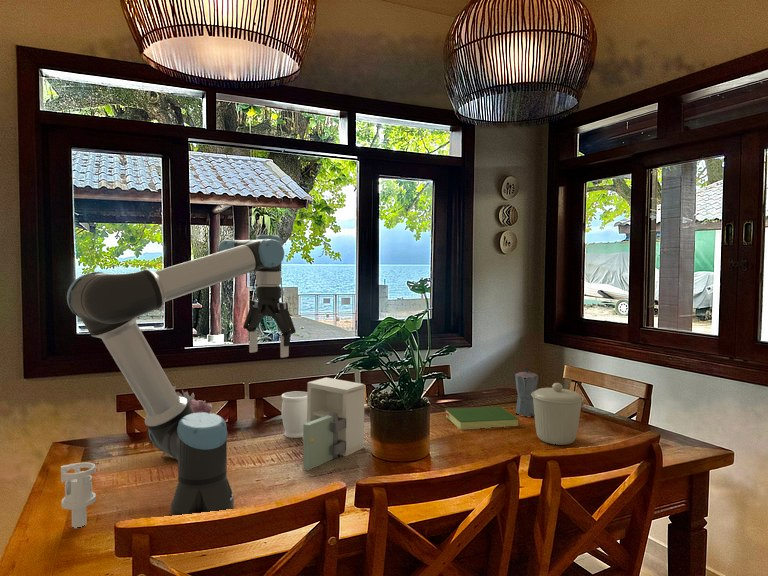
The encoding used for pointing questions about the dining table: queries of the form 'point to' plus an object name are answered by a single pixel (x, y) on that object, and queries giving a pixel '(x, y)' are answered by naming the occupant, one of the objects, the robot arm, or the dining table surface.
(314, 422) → the door
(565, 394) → the canister
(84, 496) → the strainer
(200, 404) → the flower
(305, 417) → the jar
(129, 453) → the dining table surface
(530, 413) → the moka pot
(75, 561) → the dining table surface
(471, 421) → the hardcover book
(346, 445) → the cabinet
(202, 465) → the robot arm
